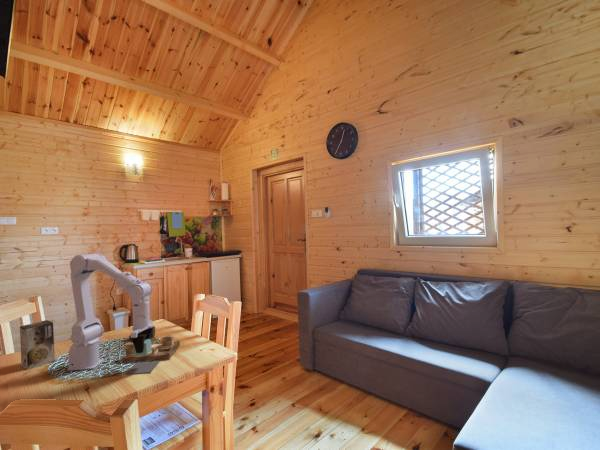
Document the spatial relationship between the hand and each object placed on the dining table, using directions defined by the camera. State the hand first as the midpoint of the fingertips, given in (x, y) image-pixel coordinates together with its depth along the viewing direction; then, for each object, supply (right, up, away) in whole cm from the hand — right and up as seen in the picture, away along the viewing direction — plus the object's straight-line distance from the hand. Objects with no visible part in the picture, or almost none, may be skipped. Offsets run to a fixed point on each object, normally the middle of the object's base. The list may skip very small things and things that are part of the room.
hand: (142, 349), depth 117 cm
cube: (0, -1, 0) cm, 1 cm away
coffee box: (-46, -9, +7) cm, 47 cm away
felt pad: (0, -7, 0) cm, 7 cm away
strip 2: (-1, -6, +17) cm, 18 cm away
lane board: (-3, -7, +13) cm, 15 cm away
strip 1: (-5, -6, +10) cm, 13 cm away
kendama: (-15, -8, +29) cm, 34 cm away
